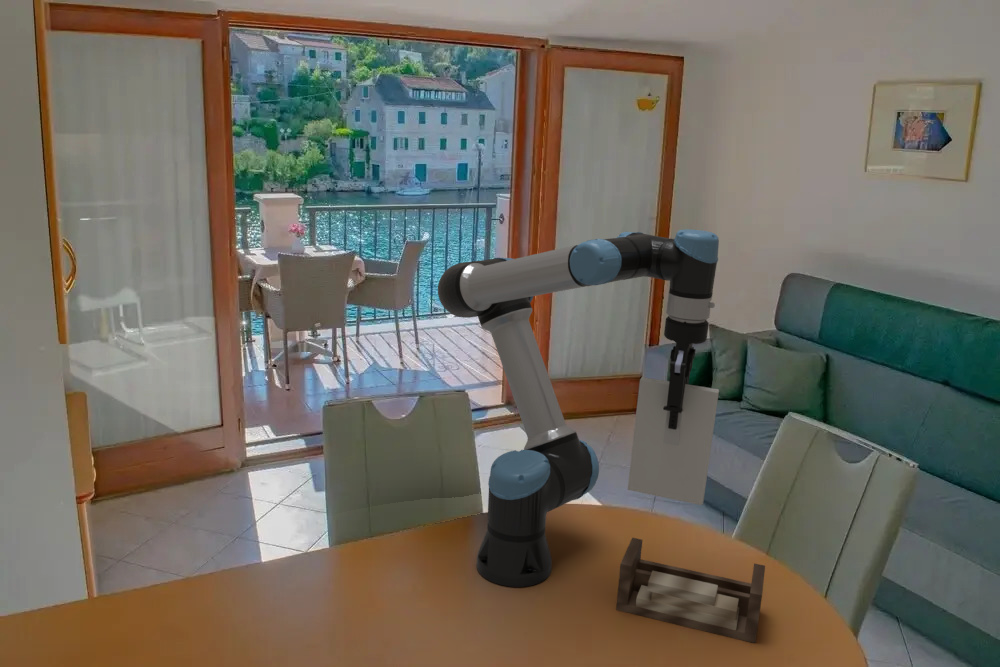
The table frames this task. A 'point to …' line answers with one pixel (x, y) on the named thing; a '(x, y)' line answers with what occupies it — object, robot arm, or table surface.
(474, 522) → the table surface
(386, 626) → the table surface
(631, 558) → the rack
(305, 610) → the table surface
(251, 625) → the table surface
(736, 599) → the offcuts
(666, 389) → the sheet
